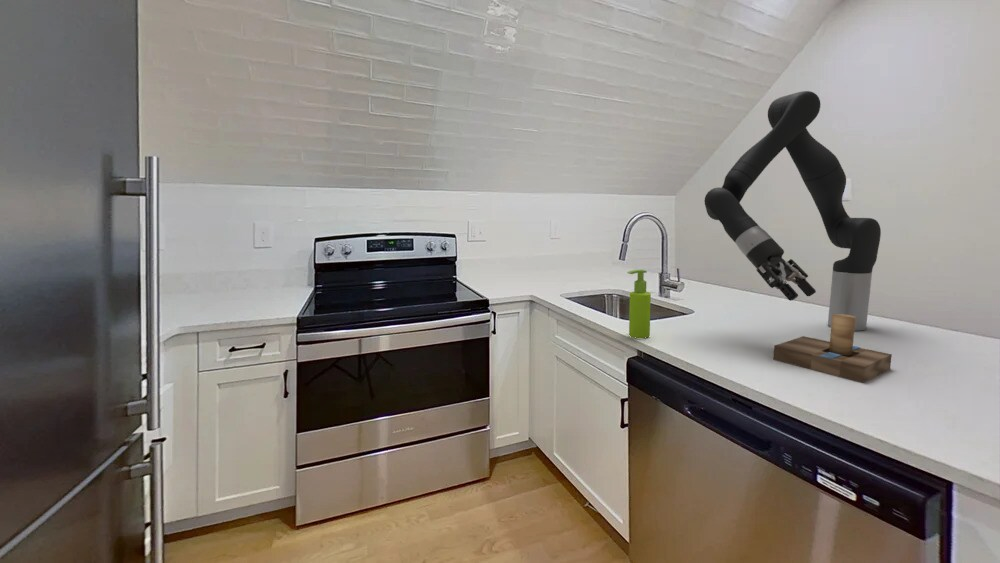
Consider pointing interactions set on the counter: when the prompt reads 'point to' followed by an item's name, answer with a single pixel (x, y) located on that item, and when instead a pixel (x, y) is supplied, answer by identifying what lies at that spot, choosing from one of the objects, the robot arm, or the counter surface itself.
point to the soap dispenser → (639, 307)
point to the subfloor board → (832, 359)
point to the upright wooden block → (842, 334)
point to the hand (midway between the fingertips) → (803, 296)
